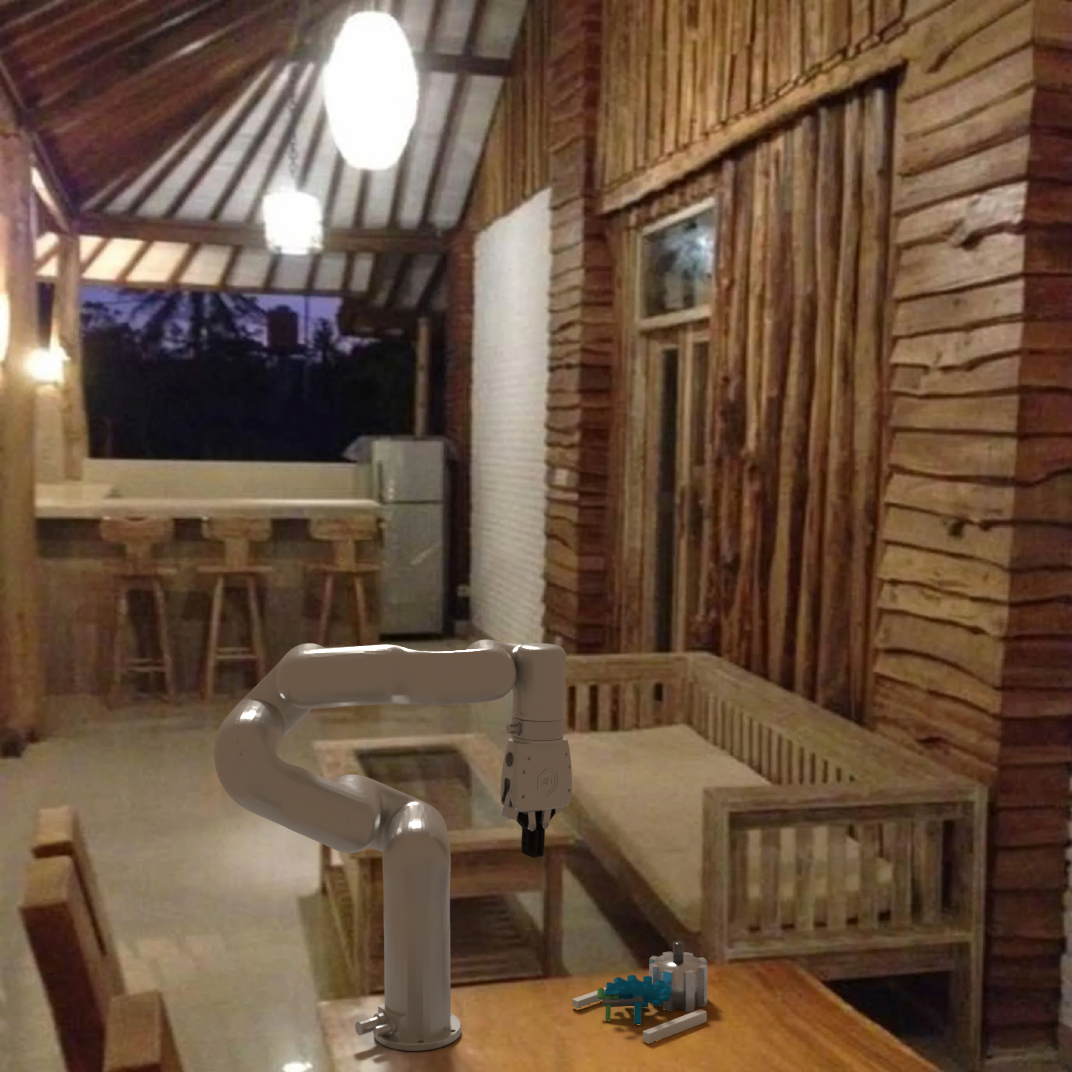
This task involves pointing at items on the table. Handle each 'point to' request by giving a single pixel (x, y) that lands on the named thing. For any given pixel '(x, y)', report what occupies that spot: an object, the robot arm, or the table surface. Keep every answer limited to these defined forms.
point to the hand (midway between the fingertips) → (532, 854)
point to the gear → (633, 994)
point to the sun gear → (681, 978)
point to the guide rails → (657, 1031)
